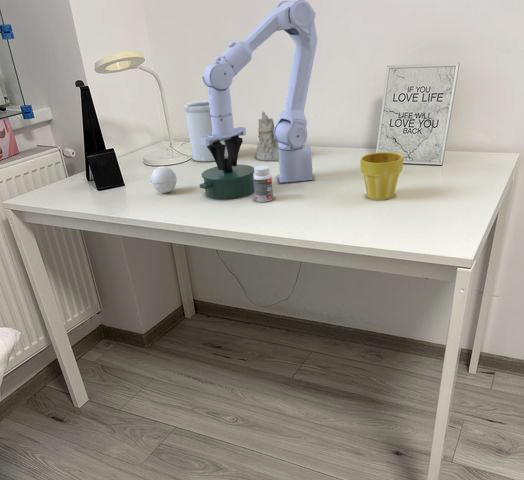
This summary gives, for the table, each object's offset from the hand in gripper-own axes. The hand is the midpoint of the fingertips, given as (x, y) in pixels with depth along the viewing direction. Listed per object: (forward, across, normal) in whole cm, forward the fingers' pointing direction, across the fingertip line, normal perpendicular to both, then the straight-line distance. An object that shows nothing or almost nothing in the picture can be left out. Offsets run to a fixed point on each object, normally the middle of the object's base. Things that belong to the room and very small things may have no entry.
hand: (227, 167), depth 149 cm
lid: (+2, 0, 0) cm, 2 cm away
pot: (+7, 0, 0) cm, 7 cm away
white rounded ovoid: (+7, +11, -17) cm, 21 cm away
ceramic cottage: (+7, -38, -16) cm, 42 cm away
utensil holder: (+7, -25, -36) cm, 45 cm away
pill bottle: (+7, 0, +14) cm, 15 cm away
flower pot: (+7, -17, +38) cm, 43 cm away
